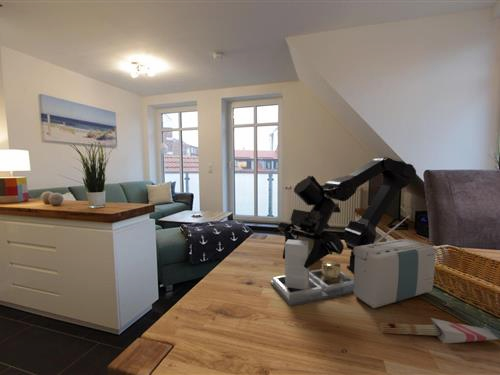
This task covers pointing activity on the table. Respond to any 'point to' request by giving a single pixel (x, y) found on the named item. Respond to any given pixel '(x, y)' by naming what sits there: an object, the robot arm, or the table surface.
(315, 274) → the grey divided tray
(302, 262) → the skincare box
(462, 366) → the table surface
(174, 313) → the table surface
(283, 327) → the table surface
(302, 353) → the table surface
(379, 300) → the white boxy appliance
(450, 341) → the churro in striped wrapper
